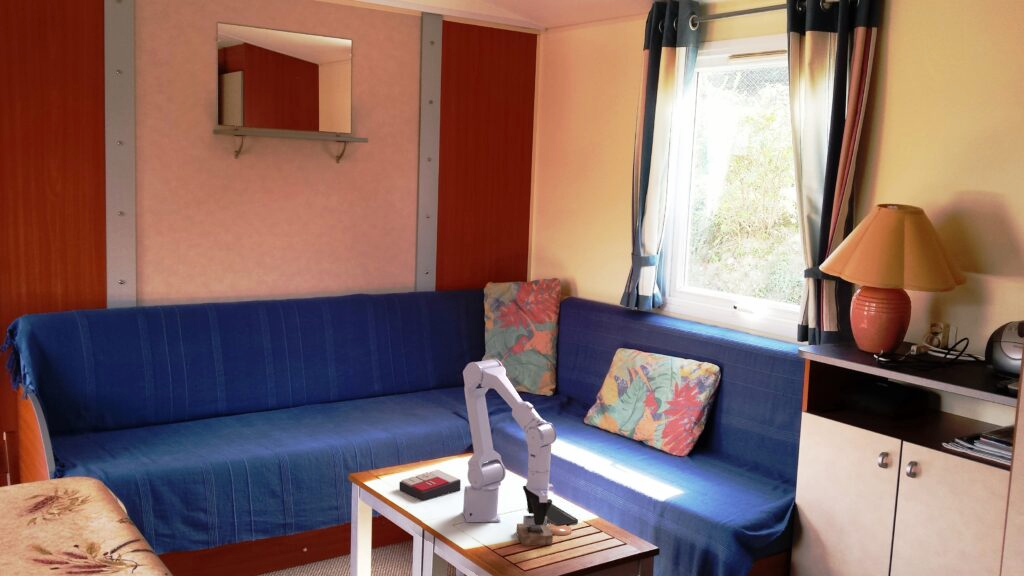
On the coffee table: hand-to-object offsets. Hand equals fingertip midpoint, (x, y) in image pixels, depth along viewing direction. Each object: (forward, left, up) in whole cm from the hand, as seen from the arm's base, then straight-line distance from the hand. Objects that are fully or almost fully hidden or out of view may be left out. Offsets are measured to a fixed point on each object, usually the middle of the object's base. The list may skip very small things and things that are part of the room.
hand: (535, 518), depth 236 cm
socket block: (0, 0, -6) cm, 6 cm away
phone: (+9, +15, -6) cm, 18 cm away
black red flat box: (-24, +36, -6) cm, 44 cm away
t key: (0, 0, -6) cm, 6 cm away
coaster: (+8, +5, -6) cm, 11 cm away
